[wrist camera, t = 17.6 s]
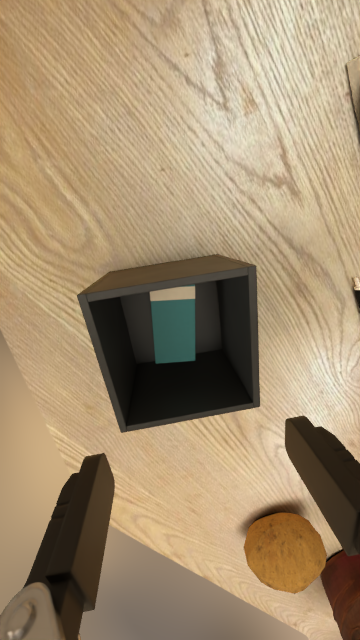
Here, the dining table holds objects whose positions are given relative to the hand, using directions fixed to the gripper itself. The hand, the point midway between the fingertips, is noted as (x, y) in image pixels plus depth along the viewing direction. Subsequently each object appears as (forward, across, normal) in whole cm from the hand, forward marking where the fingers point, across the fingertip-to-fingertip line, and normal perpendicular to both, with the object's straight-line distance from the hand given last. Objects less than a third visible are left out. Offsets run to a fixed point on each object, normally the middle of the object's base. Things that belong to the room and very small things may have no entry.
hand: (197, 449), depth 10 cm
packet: (+15, 0, +3) cm, 15 cm away
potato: (+19, -12, +44) cm, 49 cm away
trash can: (+18, 0, 0) cm, 18 cm away
